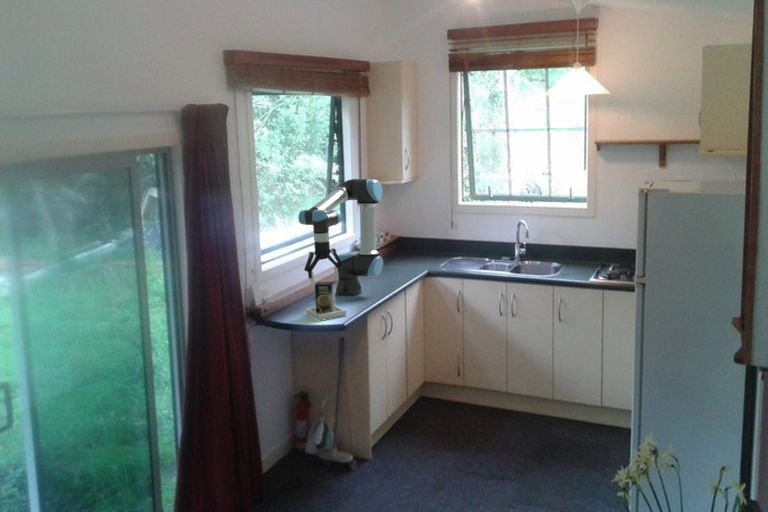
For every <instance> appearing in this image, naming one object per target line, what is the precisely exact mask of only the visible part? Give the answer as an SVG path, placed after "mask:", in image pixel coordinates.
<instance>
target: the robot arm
mask: <svg viewBox="0 0 768 512" xmlns="http://www.w3.org/2000/svg"><path fill="white" fill-rule="evenodd" d="M382 197H383V188H382V184H381V183H380V182H379V180H378V179H373V178H352V179H348V180H346V181H343V182H342V183H339V184H338V185H336V186H335V187H334V188H333V190H332V192H331V193H329V194H328V195H326V196H325V197H323V199H320V201H318V202H317V203H316V204H315V205H314V206H312V207H310V208H309V209H303V210H301V211H299V214H298V218H297V219H298V222H299V223H300V224H301V225H306V226H312V227H313V241H314V243H313V244H314V251H309V252H308V258H307V260H306V263H305V265H304V269H303V270H304V272H307V276H308V279H310V280H309V282H310V285H312V286H315V280H314V279H315V278H314V271H313V270H314V268H316V265H317V264H318V262H319V261H320V260H321V261H322V260H326V259H328V260H329V261H330V262H331V263H332V264H333V265H334V267H333V269H334V270H333V273H334V280H335V281H337V284H336V286H335V295H337V296H341V297H342V296H343V297H349V296H350V297H352V296H357V295H360V294H362V293H363V288H362V285H361V282H360V280H359V277H368V278H377V277H378V276H380V274H381V273H382V270H383V267H384V259H383V257H382V256H380V252H379V251H378V250H377V221H376V219H377V218H376V217H377V215H376V214H377V213H376V212H377V211H376V207H377V206H378V205H379V201H381V199H382ZM347 201H356V204H357V206H359V216H360V217H359V221H360V222H359V223H360V225H359V228H360V229H359V232H360V233H359V235H360V250H359V251H358V252H357V251H351V252H350V251H349V252H344V253H340V254H337V249H336V248H334V247H333V248H331V247H330V234H329V227H333V226H336V225H338V224H340V223H342V220H343V219H342V218H343V217H342V213H341V211H339V210H337V209H335V208H336V207H338V206H339V205H340V204H343V203H345V202H347ZM330 254H332V256H333V257H334V258H333V257H332V256H331V255H330ZM334 259H335V260H334Z"/></svg>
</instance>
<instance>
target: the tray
mask: <svg viewBox="0 0 768 512" xmlns="http://www.w3.org/2000/svg"><path fill="white" fill-rule="evenodd" d="M305 314H306V316H308V317H310V316H311V317H310V318H312V317H313V318H312V319H314V318H315V319H317V320H323V319H328V320H330V319H329V318H333V319H336V318H335V317H338V318H341V317H340V316H344V317H346V316H347V309H345V308H342V307H340V306H338V305H336V312H330V313H325V314H318V313H316V306H315V307H310V308H309V307H308V308H305ZM345 315H346V316H345ZM315 319H314V320H315ZM317 320H316V321H317ZM323 321H324V320H323Z"/></svg>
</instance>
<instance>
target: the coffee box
mask: <svg viewBox="0 0 768 512" xmlns="http://www.w3.org/2000/svg"><path fill="white" fill-rule="evenodd" d="M314 294H315V295H314V297H315V307H316V313H318V314H325V313H330V312H336V306H337V305H336V286H335V281H317V282H315V283H314Z"/></svg>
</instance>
